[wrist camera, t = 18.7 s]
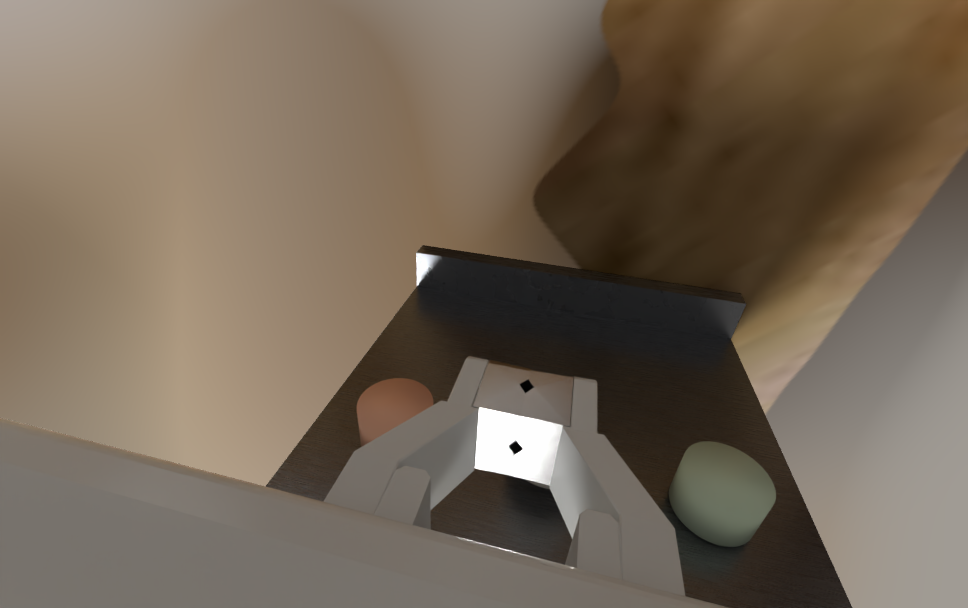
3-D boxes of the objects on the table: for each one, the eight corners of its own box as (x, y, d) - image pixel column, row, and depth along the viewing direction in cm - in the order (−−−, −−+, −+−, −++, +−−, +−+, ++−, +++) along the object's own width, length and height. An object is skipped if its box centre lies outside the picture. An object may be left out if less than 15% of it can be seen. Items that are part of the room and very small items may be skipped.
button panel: (422, 245, 47) (163, 538, 19) (740, 293, 42) (1026, 791, 14) (424, 336, 53) (230, 657, 25) (700, 387, 48) (841, 861, 20)
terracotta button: (376, 372, 30) (342, 422, 26) (442, 386, 29) (418, 439, 25) (379, 404, 32) (347, 456, 28) (442, 417, 31) (418, 473, 27)
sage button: (677, 434, 27) (691, 501, 23) (760, 450, 26) (789, 524, 22) (664, 465, 29) (674, 534, 25) (742, 482, 28) (766, 556, 24)
